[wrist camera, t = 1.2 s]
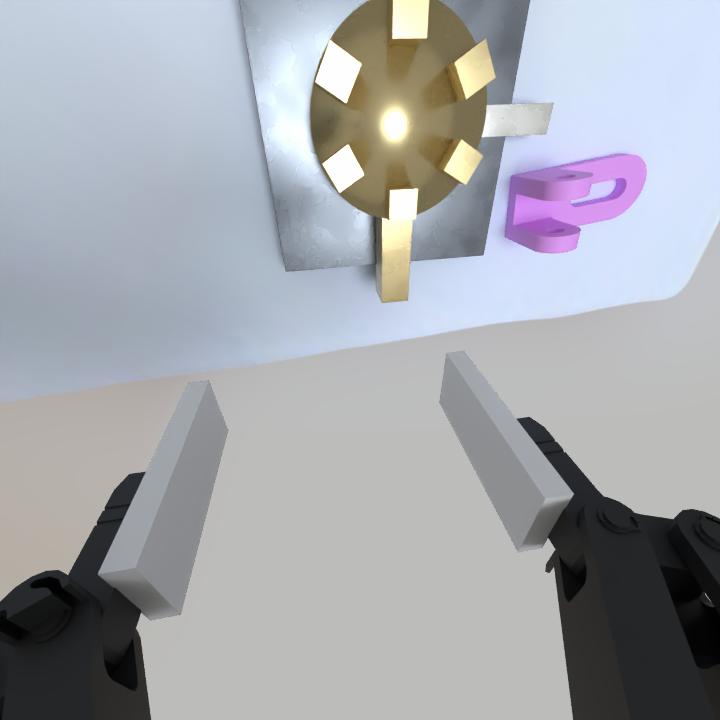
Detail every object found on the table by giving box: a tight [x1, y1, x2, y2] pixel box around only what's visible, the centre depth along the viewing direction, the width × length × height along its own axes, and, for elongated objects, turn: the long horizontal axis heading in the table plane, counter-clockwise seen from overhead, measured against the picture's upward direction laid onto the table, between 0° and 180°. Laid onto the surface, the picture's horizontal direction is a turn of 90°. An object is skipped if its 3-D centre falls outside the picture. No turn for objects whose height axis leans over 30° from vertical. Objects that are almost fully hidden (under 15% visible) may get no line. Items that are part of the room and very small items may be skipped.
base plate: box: [239, 0, 554, 272], centre depth 25 cm, size 22×21×3 cm
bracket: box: [505, 154, 647, 253], centre depth 29 cm, size 13×6×7 cm, turn 99°
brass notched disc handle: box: [309, 0, 496, 303], centre depth 24 cm, size 19×12×4 cm, turn 2°
